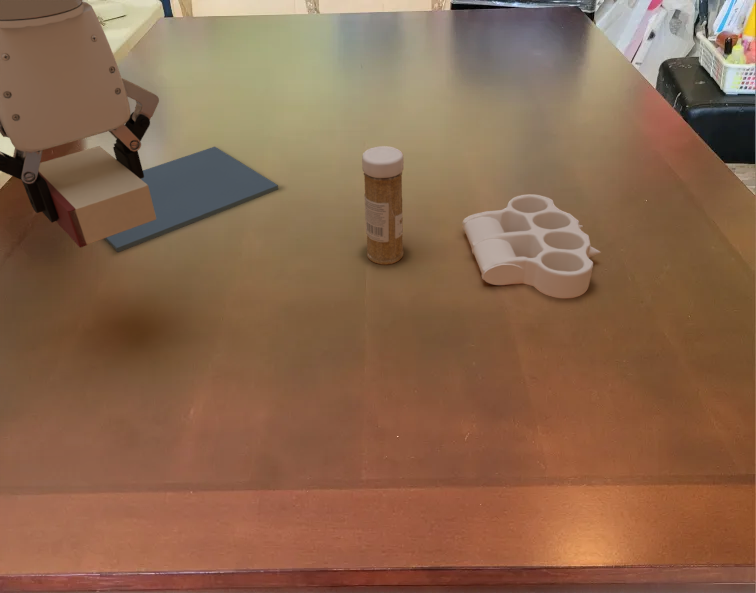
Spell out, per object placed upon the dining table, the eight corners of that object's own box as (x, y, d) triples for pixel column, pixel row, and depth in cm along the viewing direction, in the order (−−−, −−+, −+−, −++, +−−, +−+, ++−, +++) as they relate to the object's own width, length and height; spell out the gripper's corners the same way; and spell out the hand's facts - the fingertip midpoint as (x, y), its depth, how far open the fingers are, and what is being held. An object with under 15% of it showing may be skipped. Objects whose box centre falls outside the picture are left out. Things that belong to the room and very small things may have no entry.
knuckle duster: (456, 221, 86) (565, 213, 87) (489, 306, 71) (619, 295, 72) (457, 198, 84) (569, 190, 85) (491, 281, 69) (625, 270, 70)
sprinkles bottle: (410, 257, 79) (411, 154, 71) (380, 270, 77) (377, 166, 69) (388, 241, 82) (387, 140, 74) (358, 253, 80) (353, 151, 72)
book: (37, 201, 63) (24, 166, 60) (109, 178, 66) (99, 144, 64) (79, 248, 56) (67, 211, 54) (157, 219, 59) (148, 184, 57)
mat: (118, 253, 82) (116, 247, 81) (65, 201, 93) (64, 196, 92) (278, 190, 94) (278, 185, 93) (215, 151, 105) (214, 146, 104)
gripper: (117, -31, 56) (162, 159, 67) (-114, 6, 48) (-19, 218, 58) (155, -16, 52) (197, 185, 63) (-92, 27, 43) (6, 253, 54)
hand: (92, 200), depth 60 cm, fingers closed on book, 7 cm apart
